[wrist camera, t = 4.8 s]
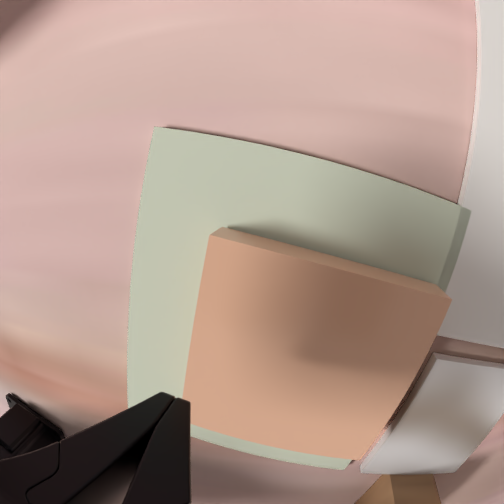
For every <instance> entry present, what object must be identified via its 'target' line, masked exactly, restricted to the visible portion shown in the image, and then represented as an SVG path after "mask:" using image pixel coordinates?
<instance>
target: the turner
mask: <svg viewBox="0 0 504 504" xmlns="http://www.w3.org/2000/svg"><path fill="white" fill-rule="evenodd" d="M503 413H504V364H502V363H495V362H488V361H481V360H475V359H469V358H463V357H457V356H451V355H445V354H439V353H434V352H433V353H432V355H431V357H430V359H429V361H428V363H427V365H426V367H425V368H424V370H423V372H422V374H421V376H420V377H419V379H418V381H417V383H416V384H415V386H414V388H413V390H412V391H411V393H410V395H409V396H408V398H407V399H406V401H405V403H404V404H403V406H402V407H401V409H400V411H399V412H398V414H397V415H396V417H395V418H394V420H393V421H392V423H391V424H390V426H389V427H388V429H387V430H386V431H385V433H384V434H383V436H382V437H381V439H380V440H379V441H378V443H377V444H376V445H375V447H374V448H373V449H372V451H371V452H370V453H369V455H368V456H367V457H366V459H365V460H364V461H363V462H362V464H361V465H360V473H368V474H382V475H381V477H380V478H379V479H378V480H377V481H376V482H375V483H374V484H373V485H372V486H371V487H370V488H369V489H368V490H367V492H366V493H365V494H364V495H363V496H362V497H361V498H360V499H359V500H358V501H357V502H356V503H354V504H441V502H440V498H439V494H438V491H437V487H436V483H435V480H434V476H433V474H441V473H454V472H456V471H457V469H458V468H459V467H460V466H461V465H462V464H463V463H464V462H465V461H466V460H467V459H468V457H469V456H470V455H471V454H472V453H473V452H474V451H475V449H476V448H477V447H478V446H479V445H480V443H481V442H482V441H483V440H484V438H485V437H486V436H487V435H488V433H489V432H490V431H491V430H492V428H493V427H494V426H495V424H496V423H497V422H498V420H499V419H500V417H501V416H502V415H503Z"/></svg>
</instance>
